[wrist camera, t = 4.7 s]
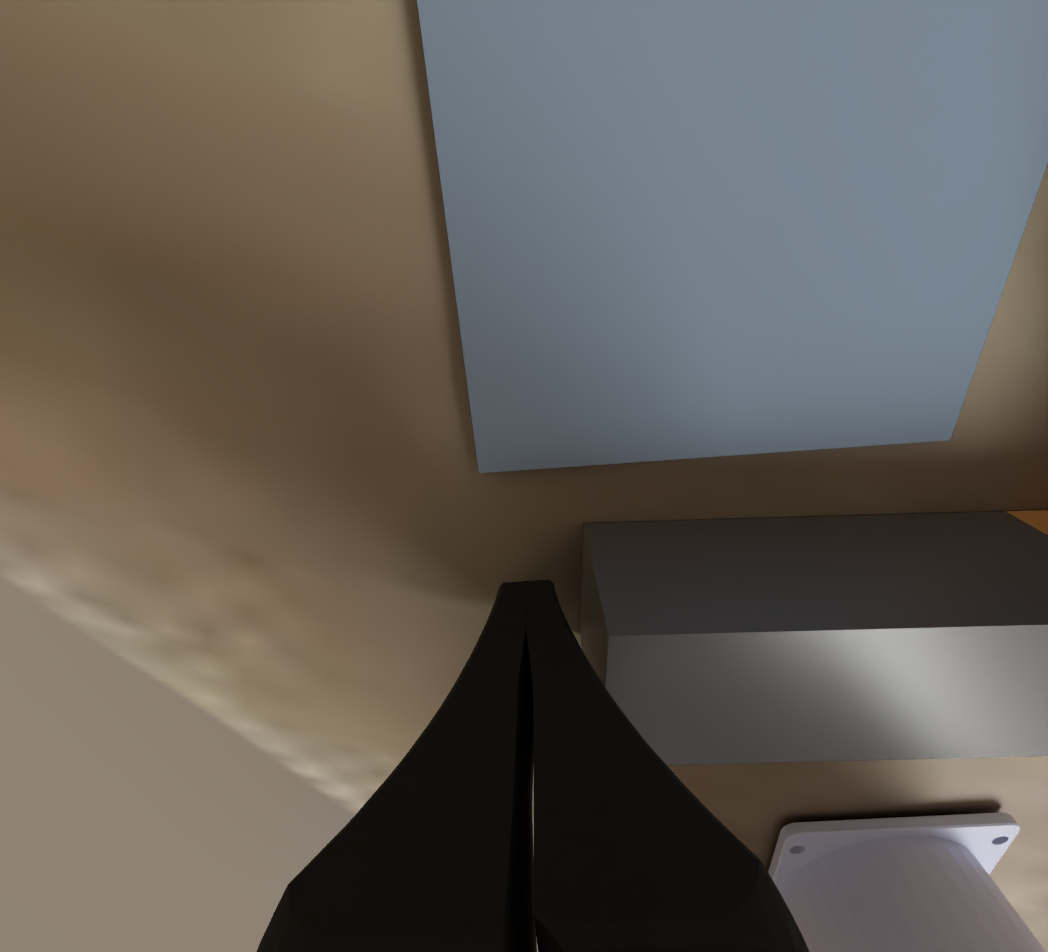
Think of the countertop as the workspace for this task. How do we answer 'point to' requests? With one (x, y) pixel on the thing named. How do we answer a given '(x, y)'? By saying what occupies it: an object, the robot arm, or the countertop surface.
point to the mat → (729, 216)
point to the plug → (823, 635)
